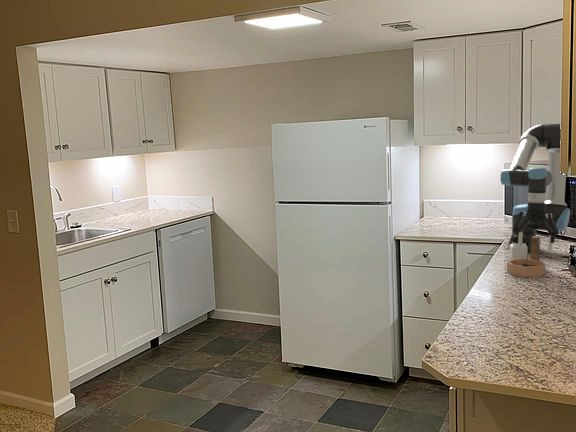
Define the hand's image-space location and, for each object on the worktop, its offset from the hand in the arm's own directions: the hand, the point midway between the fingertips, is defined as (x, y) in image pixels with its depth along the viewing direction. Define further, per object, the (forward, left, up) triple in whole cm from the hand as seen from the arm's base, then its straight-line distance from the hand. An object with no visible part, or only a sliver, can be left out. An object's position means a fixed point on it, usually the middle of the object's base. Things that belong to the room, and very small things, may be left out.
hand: (534, 248), depth 270 cm
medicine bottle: (-8, -11, -9) cm, 17 cm away
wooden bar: (0, 0, -9) cm, 9 cm away
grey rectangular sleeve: (+12, +1, -9) cm, 15 cm away
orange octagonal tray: (+12, +1, -9) cm, 15 cm away
